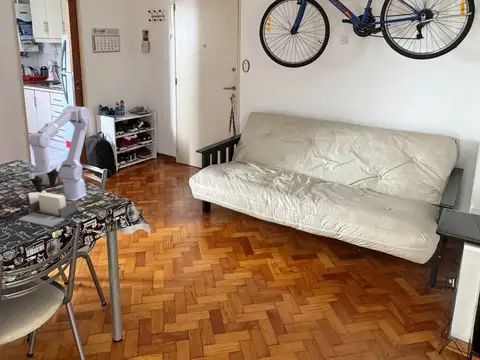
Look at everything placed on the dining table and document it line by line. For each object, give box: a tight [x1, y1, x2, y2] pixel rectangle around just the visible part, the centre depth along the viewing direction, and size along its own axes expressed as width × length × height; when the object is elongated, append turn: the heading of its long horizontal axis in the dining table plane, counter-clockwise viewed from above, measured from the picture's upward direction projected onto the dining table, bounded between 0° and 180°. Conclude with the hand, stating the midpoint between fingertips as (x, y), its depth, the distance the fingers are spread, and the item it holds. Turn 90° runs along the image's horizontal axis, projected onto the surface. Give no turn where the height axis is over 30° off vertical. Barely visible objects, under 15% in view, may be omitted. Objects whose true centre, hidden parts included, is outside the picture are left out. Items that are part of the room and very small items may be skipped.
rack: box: [29, 200, 77, 219], centre depth 200 cm, size 9×17×4 cm, turn 68°
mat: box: [17, 212, 66, 228], centre depth 192 cm, size 8×18×1 cm, turn 68°
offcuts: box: [65, 200, 79, 209], centre depth 206 cm, size 3×13×2 cm, turn 68°
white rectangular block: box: [38, 192, 67, 215], centre depth 199 cm, size 4×12×8 cm, turn 68°
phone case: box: [27, 190, 48, 205], centre depth 215 cm, size 9×2×16 cm
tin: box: [38, 173, 63, 186], centre depth 232 cm, size 15×3×8 cm, turn 84°
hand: (46, 189), depth 200 cm, fingers open, 7 cm apart
